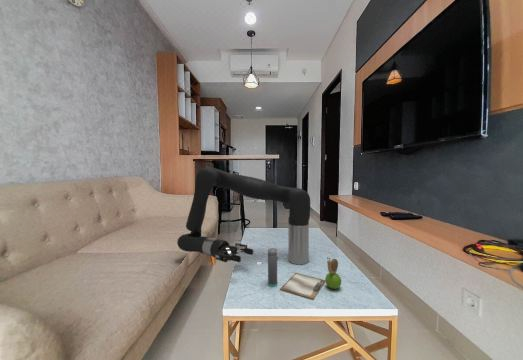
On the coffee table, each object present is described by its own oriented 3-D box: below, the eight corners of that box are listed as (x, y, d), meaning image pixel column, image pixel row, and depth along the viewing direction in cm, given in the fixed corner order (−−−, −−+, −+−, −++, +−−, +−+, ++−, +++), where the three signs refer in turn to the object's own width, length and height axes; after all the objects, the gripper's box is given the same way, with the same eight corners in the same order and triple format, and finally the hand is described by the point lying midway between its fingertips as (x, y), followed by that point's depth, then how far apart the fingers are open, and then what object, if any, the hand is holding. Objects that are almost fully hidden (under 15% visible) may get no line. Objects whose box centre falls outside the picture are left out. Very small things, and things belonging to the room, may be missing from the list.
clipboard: (295, 273, 91) (295, 270, 91) (325, 281, 85) (325, 278, 85) (279, 290, 79) (279, 286, 79) (313, 300, 73) (313, 296, 73)
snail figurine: (320, 289, 80) (321, 255, 79) (330, 282, 84) (330, 250, 84) (335, 295, 76) (335, 260, 75) (343, 287, 80) (344, 254, 80)
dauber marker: (270, 281, 85) (270, 247, 85) (278, 283, 84) (278, 249, 83) (266, 285, 83) (266, 250, 82) (274, 287, 81) (274, 252, 80)
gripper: (203, 243, 91) (235, 251, 82) (226, 235, 103) (256, 241, 94) (203, 262, 91) (235, 272, 83) (226, 251, 103) (256, 258, 95)
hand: (246, 255), depth 88 cm, fingers open, 8 cm apart
